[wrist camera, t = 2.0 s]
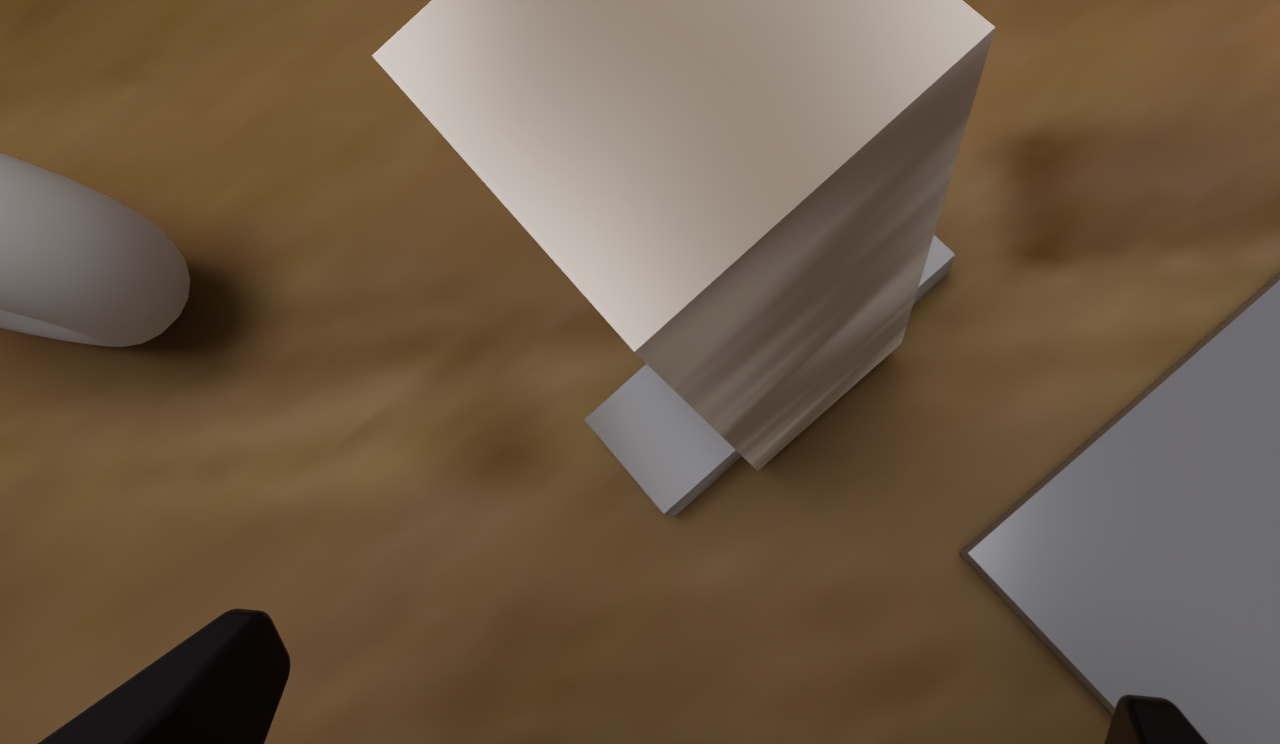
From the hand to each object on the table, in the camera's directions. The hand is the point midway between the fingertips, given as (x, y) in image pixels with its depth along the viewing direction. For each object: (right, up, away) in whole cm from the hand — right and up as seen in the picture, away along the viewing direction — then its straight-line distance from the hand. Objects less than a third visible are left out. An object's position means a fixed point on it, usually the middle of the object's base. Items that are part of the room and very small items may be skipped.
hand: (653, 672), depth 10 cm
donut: (-16, +5, +18) cm, 24 cm away
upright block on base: (+3, +4, +13) cm, 14 cm away
